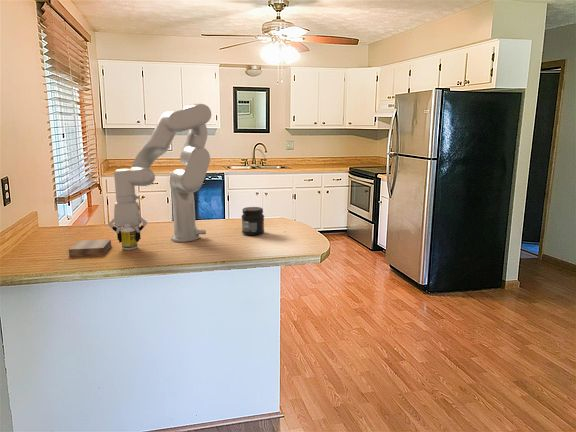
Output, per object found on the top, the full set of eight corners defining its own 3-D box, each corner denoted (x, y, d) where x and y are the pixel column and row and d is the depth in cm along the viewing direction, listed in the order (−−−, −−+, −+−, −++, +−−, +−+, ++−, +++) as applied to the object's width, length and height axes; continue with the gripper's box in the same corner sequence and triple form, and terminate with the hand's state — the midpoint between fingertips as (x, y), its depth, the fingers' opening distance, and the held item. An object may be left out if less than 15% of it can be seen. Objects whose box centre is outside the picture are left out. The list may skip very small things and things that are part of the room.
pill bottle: (132, 250, 186) (130, 224, 184) (119, 249, 188) (116, 223, 185) (140, 246, 192) (138, 221, 190) (127, 245, 193) (125, 220, 191)
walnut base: (111, 246, 193) (110, 239, 192) (103, 255, 180) (103, 247, 180) (79, 247, 191) (78, 240, 190) (69, 256, 179) (68, 249, 178)
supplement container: (264, 230, 218) (264, 206, 216) (264, 236, 208) (263, 210, 205) (242, 231, 218) (242, 206, 215) (241, 236, 208) (240, 211, 205)
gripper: (149, 197, 190) (152, 238, 194) (106, 198, 188) (109, 240, 192) (146, 200, 183) (149, 242, 187) (101, 201, 181) (105, 244, 184)
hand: (129, 241), depth 189 cm, fingers closed on pill bottle, 6 cm apart
